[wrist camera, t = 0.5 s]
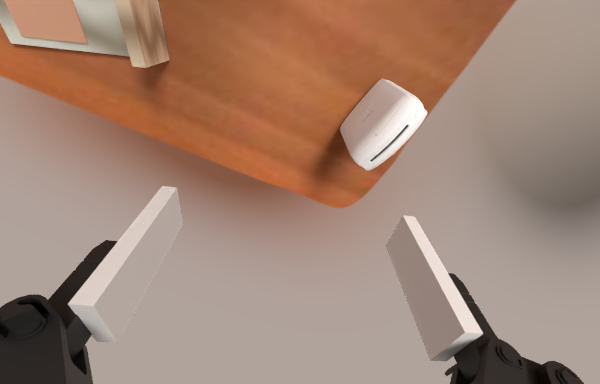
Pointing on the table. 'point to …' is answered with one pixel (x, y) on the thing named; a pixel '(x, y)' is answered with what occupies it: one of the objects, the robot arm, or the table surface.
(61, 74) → the table surface
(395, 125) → the photo printer
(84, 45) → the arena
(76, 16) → the pad
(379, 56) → the table surface
